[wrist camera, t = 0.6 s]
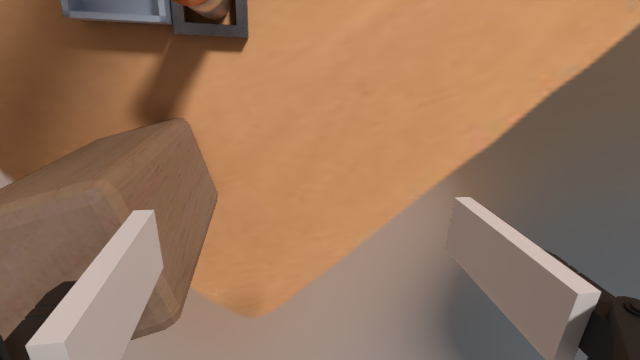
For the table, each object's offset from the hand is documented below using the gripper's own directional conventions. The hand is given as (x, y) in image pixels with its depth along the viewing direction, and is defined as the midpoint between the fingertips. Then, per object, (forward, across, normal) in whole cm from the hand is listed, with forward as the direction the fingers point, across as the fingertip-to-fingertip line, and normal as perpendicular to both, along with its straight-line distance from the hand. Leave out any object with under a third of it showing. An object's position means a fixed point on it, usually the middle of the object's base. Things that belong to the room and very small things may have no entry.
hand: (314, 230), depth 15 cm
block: (+24, -13, -5) cm, 28 cm away
